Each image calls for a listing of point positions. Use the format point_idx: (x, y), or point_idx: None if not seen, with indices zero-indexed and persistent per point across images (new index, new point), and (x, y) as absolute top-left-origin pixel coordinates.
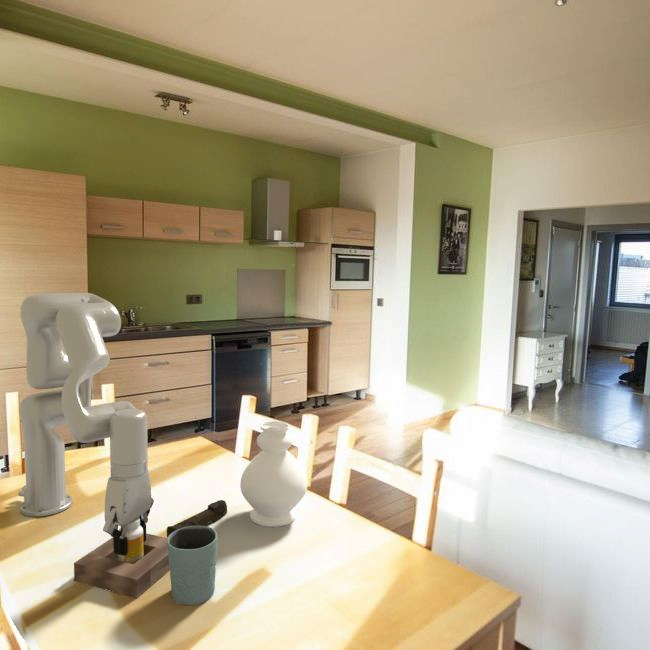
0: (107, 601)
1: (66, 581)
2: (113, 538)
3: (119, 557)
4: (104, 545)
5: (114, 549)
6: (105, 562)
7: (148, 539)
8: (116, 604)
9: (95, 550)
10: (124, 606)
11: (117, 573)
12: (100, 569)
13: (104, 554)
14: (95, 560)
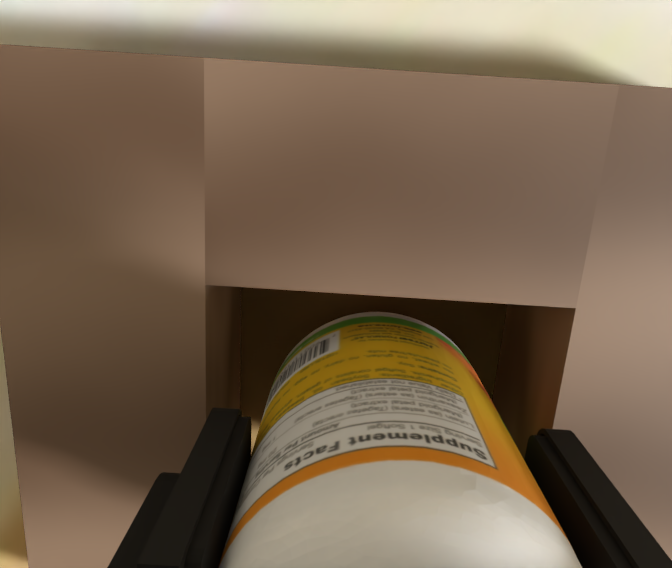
0: (10, 449)
1: (45, 7)
2: (158, 522)
3: (266, 408)
4: (405, 121)
5: (158, 479)
6: (126, 356)
7: (638, 479)
8: (14, 511)
9: (278, 93)
10: (22, 559)
11: (40, 548)
12: (14, 388)
13: (245, 249)
14: (114, 238)
